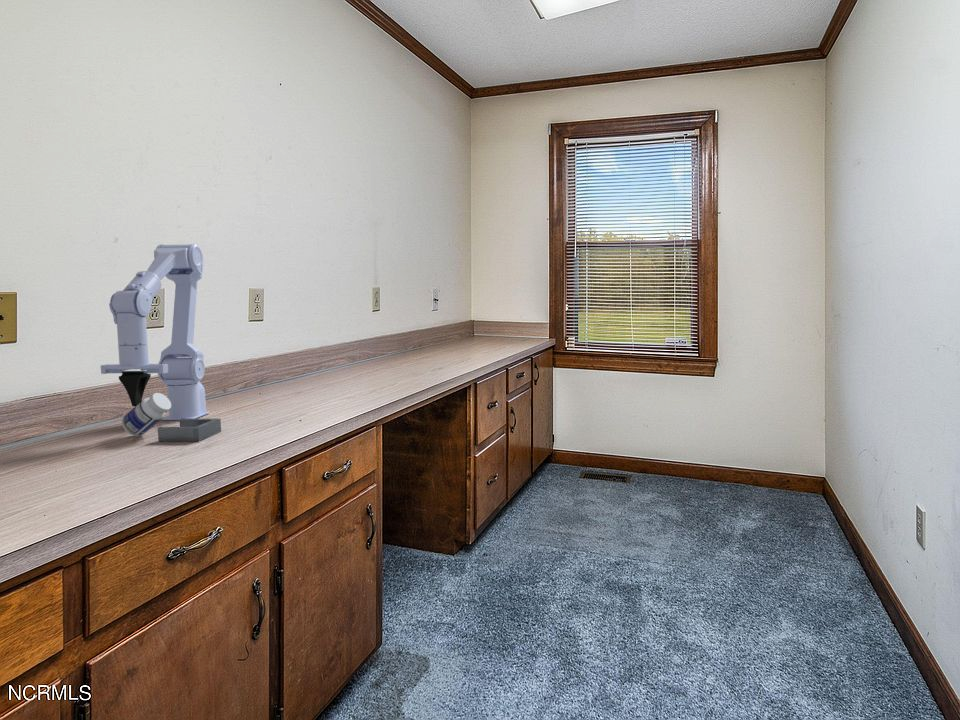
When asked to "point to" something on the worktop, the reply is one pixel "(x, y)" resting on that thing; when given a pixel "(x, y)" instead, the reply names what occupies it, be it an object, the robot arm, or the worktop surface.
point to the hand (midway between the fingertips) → (136, 405)
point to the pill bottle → (146, 414)
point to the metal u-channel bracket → (190, 430)
